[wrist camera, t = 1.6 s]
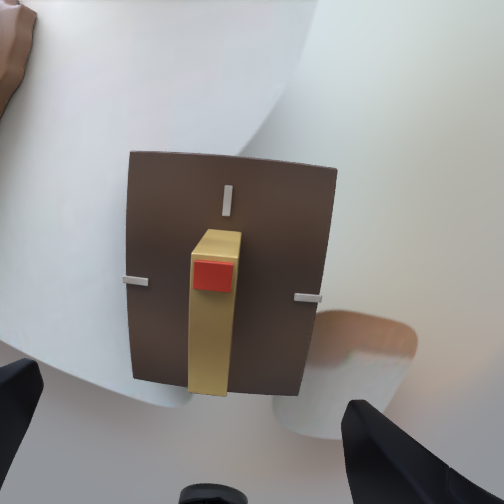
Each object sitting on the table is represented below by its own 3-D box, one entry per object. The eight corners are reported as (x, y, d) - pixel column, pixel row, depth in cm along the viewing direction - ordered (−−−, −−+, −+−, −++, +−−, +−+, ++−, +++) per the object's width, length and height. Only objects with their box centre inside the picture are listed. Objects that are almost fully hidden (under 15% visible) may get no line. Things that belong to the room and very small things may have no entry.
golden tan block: (231, 343, 17) (226, 401, 12) (201, 340, 16) (187, 396, 12) (241, 231, 15) (238, 259, 10) (208, 228, 15) (190, 254, 10)
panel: (294, 368, 20) (300, 398, 17) (144, 353, 20) (130, 379, 17) (325, 168, 17) (340, 168, 14) (146, 153, 17) (126, 150, 14)
